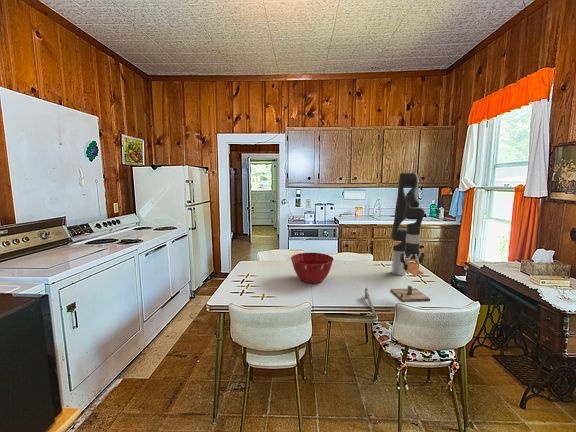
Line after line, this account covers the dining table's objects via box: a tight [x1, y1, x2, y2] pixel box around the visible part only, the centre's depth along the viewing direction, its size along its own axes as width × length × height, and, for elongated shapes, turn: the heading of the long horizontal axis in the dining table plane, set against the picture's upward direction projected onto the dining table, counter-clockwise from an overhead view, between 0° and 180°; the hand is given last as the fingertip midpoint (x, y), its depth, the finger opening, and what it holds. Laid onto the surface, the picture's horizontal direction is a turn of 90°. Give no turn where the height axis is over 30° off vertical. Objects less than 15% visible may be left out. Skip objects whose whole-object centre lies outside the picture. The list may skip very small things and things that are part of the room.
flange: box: [405, 260, 424, 277], centre depth 169 cm, size 12×6×5 cm, turn 5°
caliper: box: [364, 287, 376, 313], centre depth 162 cm, size 20×1×6 cm, turn 178°
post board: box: [390, 285, 431, 302], centre depth 174 cm, size 16×16×6 cm
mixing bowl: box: [290, 252, 335, 284], centre depth 200 cm, size 28×28×15 cm
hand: (411, 269), depth 172 cm, fingers closed on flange, 6 cm apart
